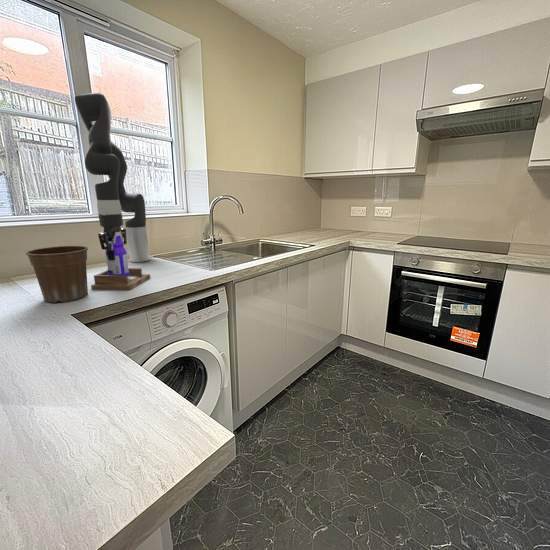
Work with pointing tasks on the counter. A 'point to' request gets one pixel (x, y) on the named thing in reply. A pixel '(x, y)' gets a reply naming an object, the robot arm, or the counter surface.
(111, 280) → the rail board
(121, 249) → the bottle
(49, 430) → the counter surface
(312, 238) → the counter surface
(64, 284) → the plant pot
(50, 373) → the counter surface
